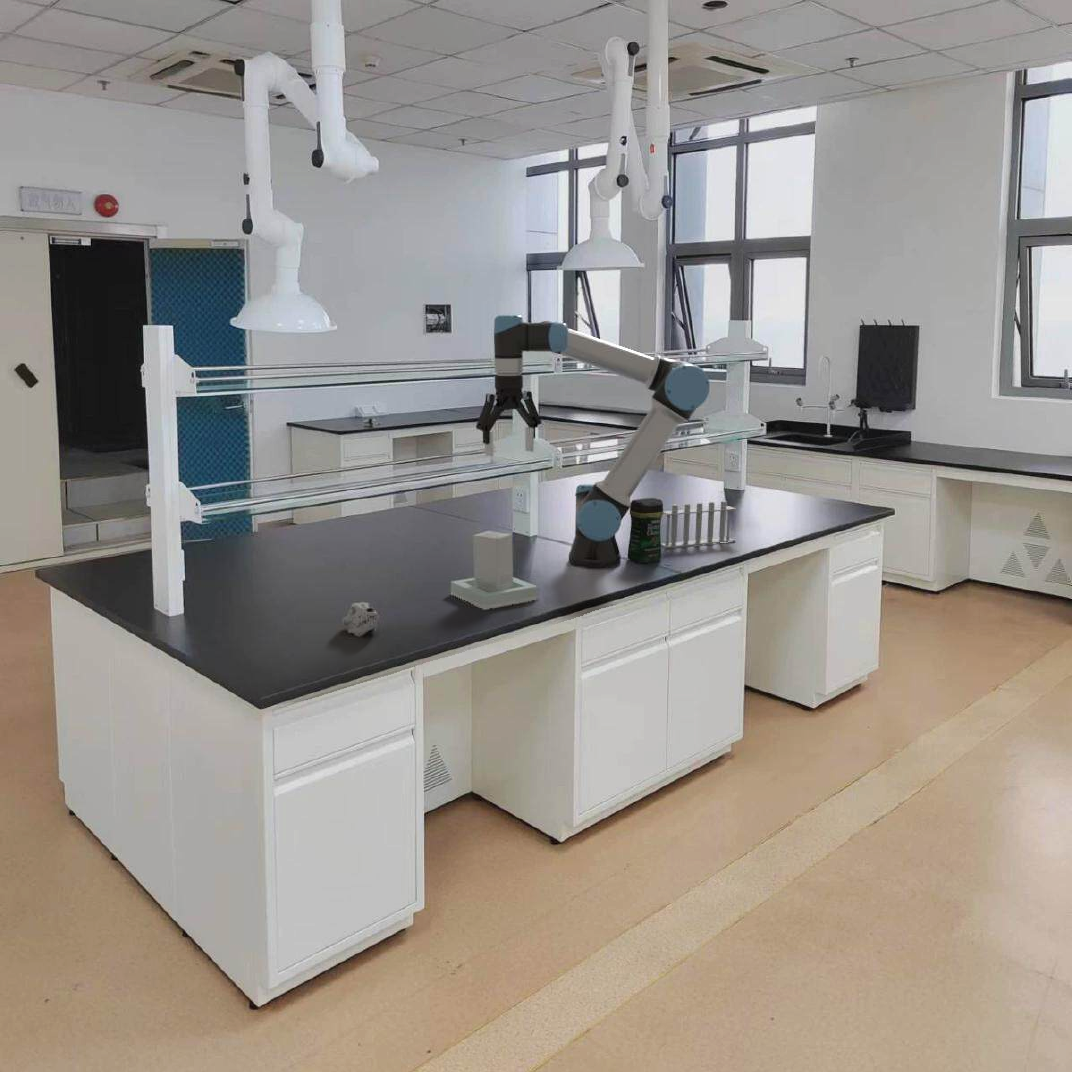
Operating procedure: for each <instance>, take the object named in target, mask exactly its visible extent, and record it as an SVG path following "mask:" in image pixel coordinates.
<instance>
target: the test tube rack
mask: <svg viewBox="0 0 1072 1072" xmlns="http://www.w3.org/2000/svg"><path fill="white" fill-rule="evenodd" d="M715 505H716V504H715V501H709V502H708V507H703V503H702V502H697V503H696V508H691V504H690V503H685V504H684V509H679V506H678V504H672V506H671V508H672V509H671V510H665V511H664V510H663V515H666V533H665V534H666V539H665V542H663V543H661V547H662V546H663V547H662V548H664V547H665V548H664V549H666V548H670V549H678V548H677V547H681V548H687V547H686V546H691V547H696V546H695V545H701V546H704V545H703V544H712V545H714V544H713V543H720V542H728V541H735V542H736V539H733V538H730V528H731V527H730V525H731V512H732V511H736V510H738V509H737V508H736V507H733V506H730V505H727V500H721V501H720V506H715ZM715 512H720V513H719V515H720V516H719V529H718V530H719V531H718V532H719V533H718V535H719V536H718V538H717V537H716V538H714V524H715V523H714V522H715ZM703 513H707V514H708V515H707V517H708V518H707V538H705V539H704V538H703V539H702V538H701V537H702V521H703ZM691 514H695V538H694V540H689V539H690V538H689V537H690V521H691V520H690V519H691V518H690V517H691ZM678 515H683V533H682V534H683V536H682V539H683V540H682V541H677V539H678V538H677V537H678V535H677V533H678V517H679V516H678ZM726 517H727V518H726ZM670 519H671V520H670ZM726 519H727V521H726ZM670 521H671V523H670ZM726 522H727V523H726ZM670 524H671V527H670ZM726 524H727V525H726ZM670 528H671V529H670ZM670 530H671V531H670Z"/></svg>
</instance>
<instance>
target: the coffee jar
mask: <svg viewBox="0 0 1072 1072" xmlns="http://www.w3.org/2000/svg"><path fill="white" fill-rule="evenodd" d="M630 502H631V507H630V508H629V515H630V520H631V521H630V531H629V532H630V533H629V540H628V543H629V544H628V549H627V559H628V560H629V561H630V562H632V563H639V564H648V563H649V564H650V563H655V562H660V560H661V559H662V546H661V538H662V537H661V522H662V518H663V515H664V514H663V511H664V503H663V500H662V499H659V498H656V497H646V498H640V499H639V498H636V499H632V501H630Z"/></svg>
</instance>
